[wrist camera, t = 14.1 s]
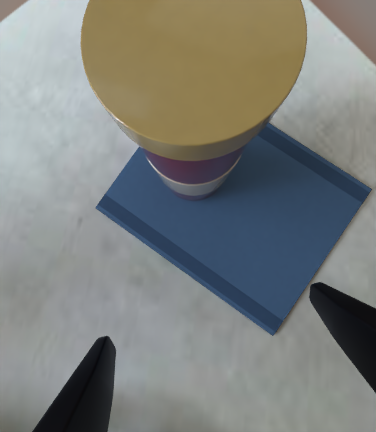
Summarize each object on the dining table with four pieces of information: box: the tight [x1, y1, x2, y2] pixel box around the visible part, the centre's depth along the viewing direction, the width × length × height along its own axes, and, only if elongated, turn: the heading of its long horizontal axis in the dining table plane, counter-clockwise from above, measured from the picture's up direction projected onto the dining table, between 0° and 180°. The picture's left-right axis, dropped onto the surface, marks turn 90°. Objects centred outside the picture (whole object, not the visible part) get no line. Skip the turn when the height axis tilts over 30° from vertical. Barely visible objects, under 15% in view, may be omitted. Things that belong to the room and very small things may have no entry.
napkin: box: [96, 123, 372, 336], centre depth 18 cm, size 20×16×1 cm
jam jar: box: [81, 0, 307, 201], centre depth 12 cm, size 6×6×13 cm
